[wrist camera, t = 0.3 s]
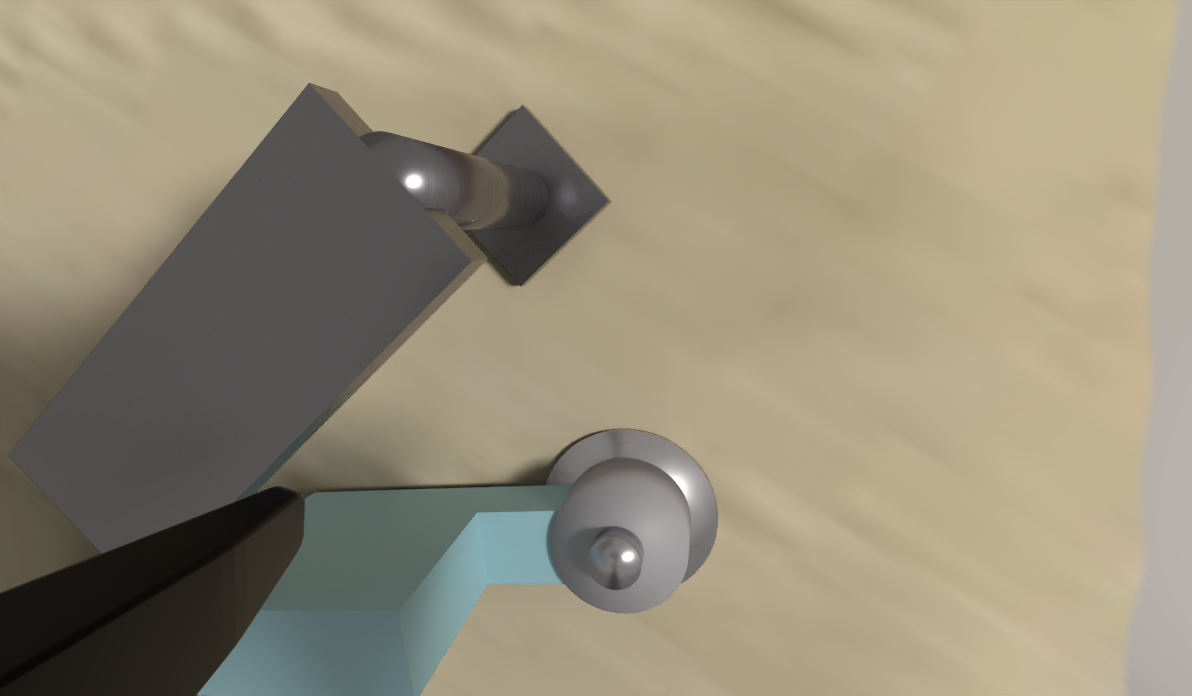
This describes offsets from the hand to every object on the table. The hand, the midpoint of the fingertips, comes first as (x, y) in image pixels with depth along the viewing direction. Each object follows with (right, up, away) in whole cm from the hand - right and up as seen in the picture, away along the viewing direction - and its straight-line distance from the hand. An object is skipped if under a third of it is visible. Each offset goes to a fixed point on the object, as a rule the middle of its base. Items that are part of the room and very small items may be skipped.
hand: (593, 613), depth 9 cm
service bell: (+1, -3, +16) cm, 16 cm away
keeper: (-6, +6, +15) cm, 18 cm away
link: (-4, -3, +17) cm, 17 cm away
